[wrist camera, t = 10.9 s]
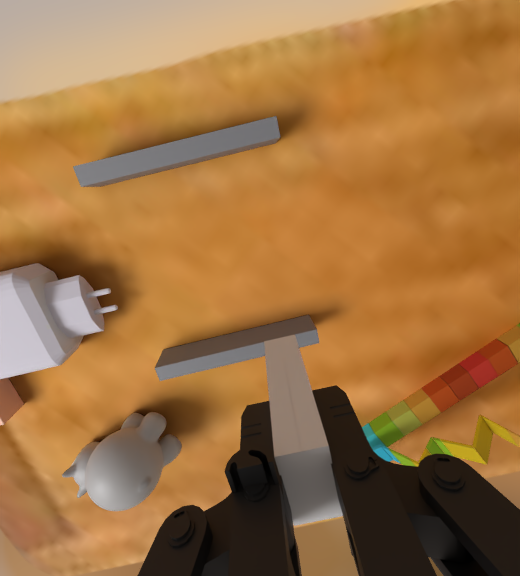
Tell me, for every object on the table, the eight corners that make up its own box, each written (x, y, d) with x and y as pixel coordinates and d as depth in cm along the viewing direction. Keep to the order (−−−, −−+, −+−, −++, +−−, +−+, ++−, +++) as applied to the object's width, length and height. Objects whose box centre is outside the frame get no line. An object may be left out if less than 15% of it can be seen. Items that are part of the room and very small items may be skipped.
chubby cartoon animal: (90, 405, 37) (23, 469, 30) (166, 403, 33) (108, 477, 25) (117, 449, 40) (60, 518, 32) (192, 452, 35) (145, 534, 27)
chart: (348, 457, 40) (409, 608, 25) (334, 443, 39) (389, 592, 25) (565, 317, 35) (788, 407, 21) (555, 297, 34) (781, 377, 20)
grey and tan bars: (269, 111, 26) (273, 101, 23) (312, 335, 33) (321, 351, 30) (-114, 207, 27) (-164, 210, 23) (10, 407, 34) (-14, 431, 30)
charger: (139, 330, 32) (2, 363, 32) (105, 245, 29) (-46, 282, 29) (123, 353, 28) (-37, 391, 28) (81, 256, 25) (-98, 299, 25)
